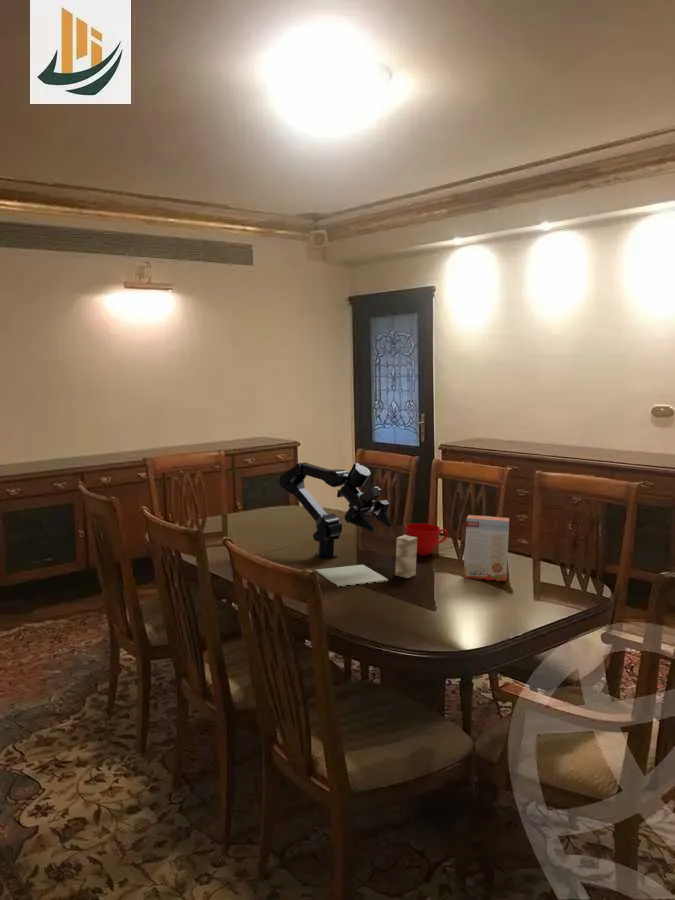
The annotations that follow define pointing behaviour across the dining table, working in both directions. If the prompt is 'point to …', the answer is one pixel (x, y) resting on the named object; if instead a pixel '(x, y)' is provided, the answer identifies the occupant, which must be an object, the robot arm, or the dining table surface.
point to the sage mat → (351, 575)
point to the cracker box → (486, 548)
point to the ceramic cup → (425, 536)
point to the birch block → (406, 556)
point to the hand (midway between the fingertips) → (382, 528)
